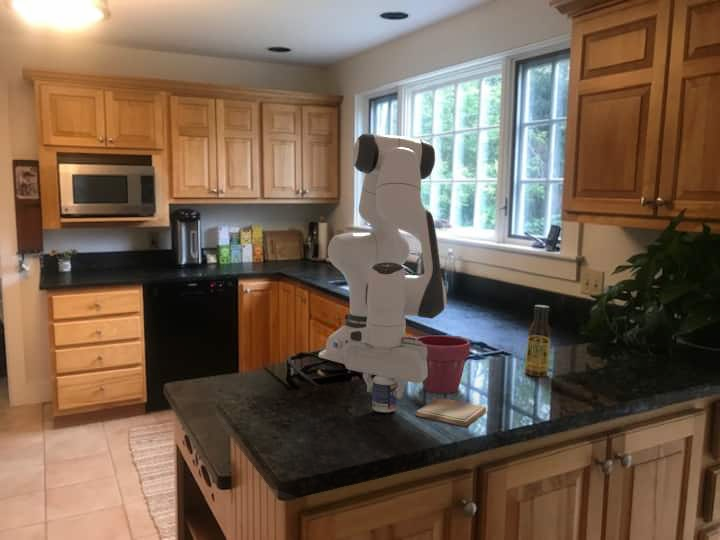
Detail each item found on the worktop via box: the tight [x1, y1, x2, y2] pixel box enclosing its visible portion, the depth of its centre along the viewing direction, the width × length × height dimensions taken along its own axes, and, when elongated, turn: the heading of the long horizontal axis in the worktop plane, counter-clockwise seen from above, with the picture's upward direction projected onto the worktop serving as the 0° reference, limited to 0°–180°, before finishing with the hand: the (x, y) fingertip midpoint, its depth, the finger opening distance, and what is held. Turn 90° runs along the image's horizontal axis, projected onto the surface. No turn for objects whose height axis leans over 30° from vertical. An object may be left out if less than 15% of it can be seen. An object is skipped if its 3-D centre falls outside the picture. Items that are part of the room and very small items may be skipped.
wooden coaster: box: [415, 397, 487, 427], centre depth 137 cm, size 12×12×1 cm
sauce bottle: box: [524, 304, 552, 378], centre depth 170 cm, size 6×6×20 cm
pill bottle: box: [371, 369, 397, 413], centre depth 137 cm, size 5×5×10 cm
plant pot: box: [414, 334, 471, 394], centre depth 156 cm, size 14×14×13 cm
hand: (384, 394), depth 137 cm, fingers closed on pill bottle, 5 cm apart
